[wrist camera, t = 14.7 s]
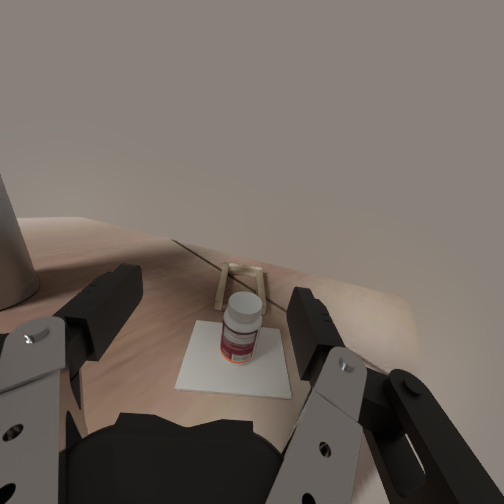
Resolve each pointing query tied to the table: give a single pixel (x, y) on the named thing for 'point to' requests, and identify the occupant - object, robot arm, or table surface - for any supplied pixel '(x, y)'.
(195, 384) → the mat
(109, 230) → the table surface
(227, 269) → the wooden rectangular frame
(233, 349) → the pill bottle
